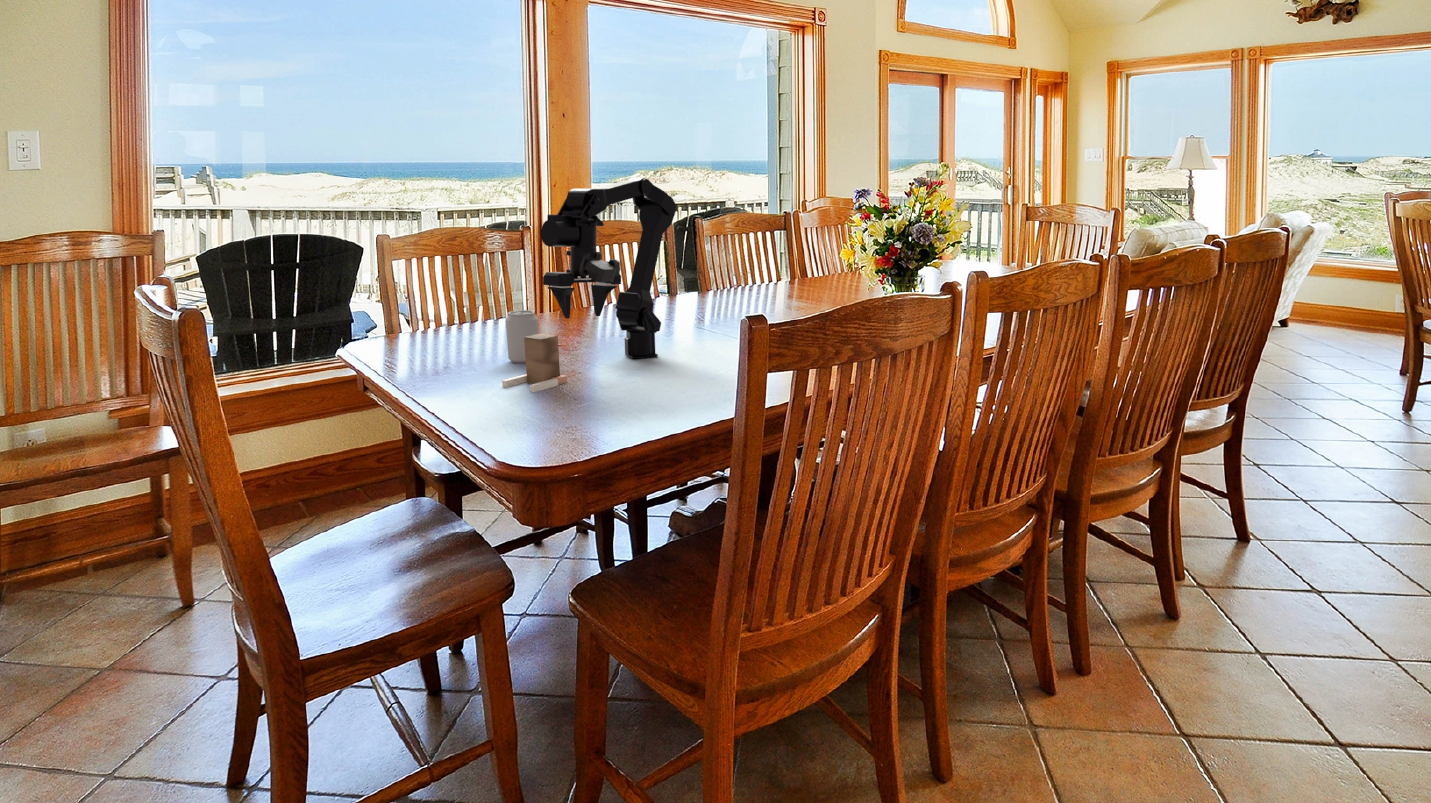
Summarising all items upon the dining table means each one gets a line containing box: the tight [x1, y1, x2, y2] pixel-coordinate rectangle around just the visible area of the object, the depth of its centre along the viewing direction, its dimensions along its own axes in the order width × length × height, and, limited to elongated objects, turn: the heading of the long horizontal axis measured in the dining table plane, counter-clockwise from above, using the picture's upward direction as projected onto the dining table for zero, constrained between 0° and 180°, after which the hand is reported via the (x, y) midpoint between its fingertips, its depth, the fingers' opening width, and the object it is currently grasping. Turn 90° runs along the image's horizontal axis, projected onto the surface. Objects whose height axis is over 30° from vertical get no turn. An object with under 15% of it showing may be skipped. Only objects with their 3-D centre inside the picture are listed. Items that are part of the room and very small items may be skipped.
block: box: [524, 333, 561, 385], centre depth 205 cm, size 5×5×10 cm
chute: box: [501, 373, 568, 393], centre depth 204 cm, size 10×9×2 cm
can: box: [505, 309, 540, 364], centre depth 227 cm, size 8×8×12 cm
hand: (582, 317), depth 214 cm, fingers open, 9 cm apart
